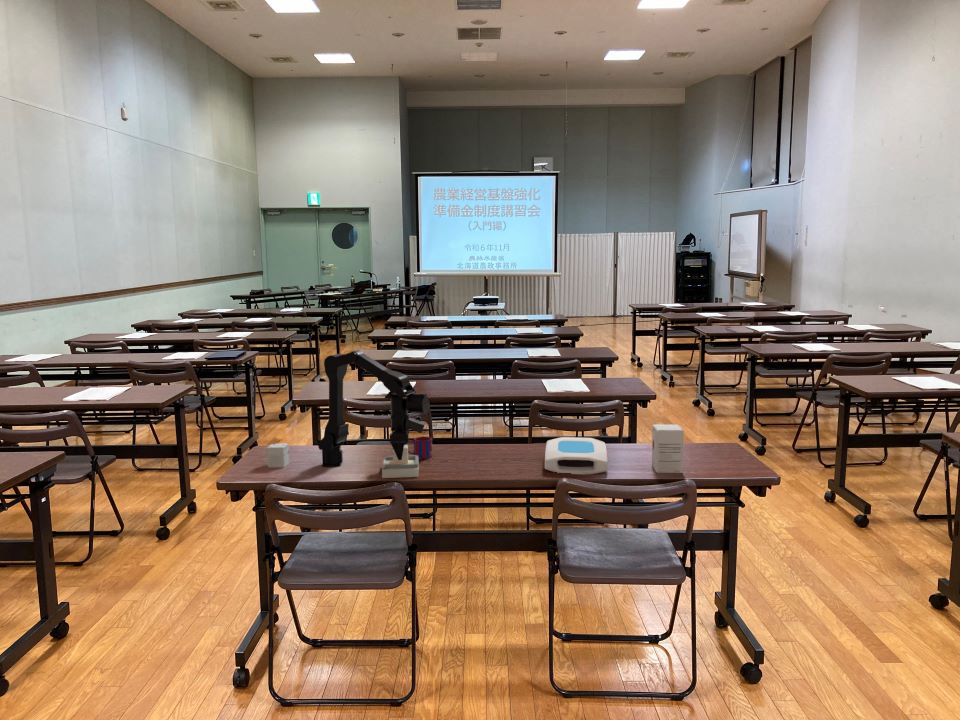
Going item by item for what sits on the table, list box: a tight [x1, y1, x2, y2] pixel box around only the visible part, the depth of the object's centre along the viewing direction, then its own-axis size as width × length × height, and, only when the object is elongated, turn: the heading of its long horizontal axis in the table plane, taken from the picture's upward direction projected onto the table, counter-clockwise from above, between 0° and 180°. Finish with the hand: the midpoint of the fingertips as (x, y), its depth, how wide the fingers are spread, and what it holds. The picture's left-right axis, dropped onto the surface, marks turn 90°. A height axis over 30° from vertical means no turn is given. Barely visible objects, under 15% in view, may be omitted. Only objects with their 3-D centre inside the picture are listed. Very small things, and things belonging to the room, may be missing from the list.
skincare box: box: [266, 442, 290, 468], centre depth 251 cm, size 6×6×7 cm
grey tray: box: [381, 454, 420, 479], centre depth 242 cm, size 12×14×4 cm
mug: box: [405, 436, 433, 460], centre depth 261 cm, size 7×10×7 cm
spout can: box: [385, 444, 409, 464], centre depth 241 cm, size 8×5×6 cm, turn 94°
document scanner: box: [544, 436, 609, 475], centre depth 250 cm, size 21×28×6 cm
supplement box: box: [651, 423, 685, 474], centre depth 240 cm, size 9×9×15 cm
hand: (400, 456), depth 241 cm, fingers open, 9 cm apart
